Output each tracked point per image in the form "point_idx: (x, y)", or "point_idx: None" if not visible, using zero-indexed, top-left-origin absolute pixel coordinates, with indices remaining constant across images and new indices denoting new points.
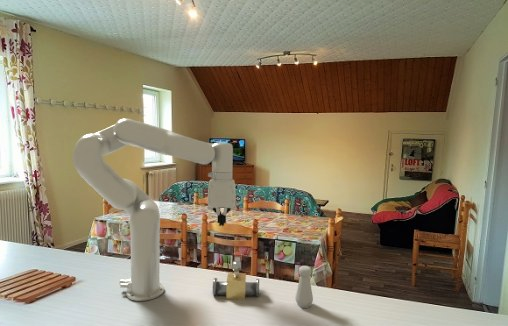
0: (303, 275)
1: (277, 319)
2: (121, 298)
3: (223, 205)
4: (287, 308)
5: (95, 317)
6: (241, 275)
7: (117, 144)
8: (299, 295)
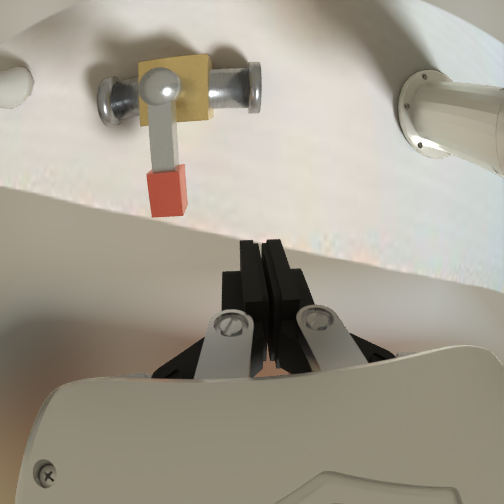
0: None
1: (81, 7)
2: None
3: (254, 410)
4: (54, 58)
5: (475, 36)
6: None
7: None
8: (14, 71)
